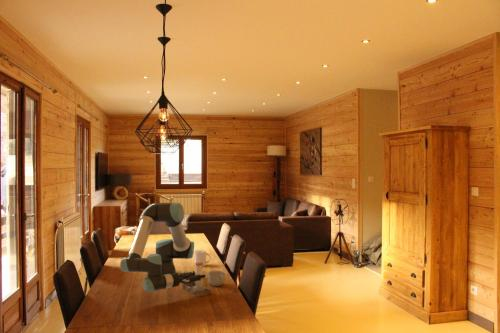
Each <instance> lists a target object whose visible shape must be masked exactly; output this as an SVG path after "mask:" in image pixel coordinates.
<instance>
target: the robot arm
mask: <svg viewBox="0 0 500 333" xmlns="http://www.w3.org/2000/svg"><path fill="white" fill-rule="evenodd" d="M184 218H185V210H184V206H183V205H182V204H181V203H180V202H155V203H154V202H153V203H151V204H149V205H148V206H147V207H145V209H144V210H142V212H141V214H140V215H139V218H138V223H139V224H138V226H137V228H136V232H135V235H134V238H133V241H132V243H131V246H130V249H129V252H128V254H127V257H123V258H121V260H120V264H119V265H120V270H121V271H122V272H126V273H146V276H147V277H145V278H143V280H142V288H143V290H144V291H145V292H146V293H149V292H150V293H151V292H155V291H160V290H168V289H169V288H170V289H171V288H176V287H179V286H180V284H182V283H184V282H186V283H190V282H194V281H195V282H196V281H200V280H201V279H208V277H209V272H210V271H208V272H206V270H203V273H202V274H199V275H196V270H195V271H191V272H183V273H178V272H176V267H175V264H174V259H179V260H180V259H182V260H183V259H184V260H190V259H193V258H194V251H195V242H194V241H192V240H190V239H189V237H187V235H186V232H185V229H184V226H183V221H184ZM157 222H158V223H160V222H161V223H162V222H163V223H164V225H165V226H166V227H167V228H168V230H169V232H170V234H171V237H172V238H165V239H161V240H158V241H156V243H155V249H154V250H155V253H152V254H148V255H147V257H142V256H143V254H144V250H145V248H146V247H147V246H146V245H147V242H148V239H149V236H150V234H151V230H152V228H153V227H154V225H155V223H157Z"/></svg>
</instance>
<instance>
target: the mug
mask: <svg viewBox="0 0 500 333" xmlns="http://www.w3.org/2000/svg"><path fill="white" fill-rule="evenodd" d="M207 256H208V257H209V260H207ZM193 258H194V262H193V263H194V266H195V267H196V265H195V263H196V262H202V263H203V267H205V266H206V265H207V264H209V263H210V261H211V259H212V257H211V254H209V253H208V252H207V250H204V249H197V250H194V253H193Z"/></svg>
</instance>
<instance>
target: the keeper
mask: <svg viewBox="0 0 500 333" xmlns="http://www.w3.org/2000/svg"><path fill="white" fill-rule="evenodd" d="M195 265H196V266H195ZM194 266H195V272H196V275H199V274H202V273H203V271H204V270H203V268H204V266H203V263H202V262H196V263H195V264H194ZM203 279H204V278H203ZM203 279H201V280H200V281H195V283H196V286H193V289H196V290H198V291H200V292H202V291H205V288H206V286H204V285H203V281H204V280H203Z"/></svg>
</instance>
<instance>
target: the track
mask: <svg viewBox="0 0 500 333" xmlns="http://www.w3.org/2000/svg"><path fill="white" fill-rule="evenodd" d="M193 286H196V281H194V282H190V283H186V282H184V283H181V288H182V290H184V291H186V292H189V293H191V294H193V295H195V296H197V297H202V296H207V295H211V294H212V290H211V289H210V288H207V287H205V291H202V292H200V291H198V290H196V289H193Z"/></svg>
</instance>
